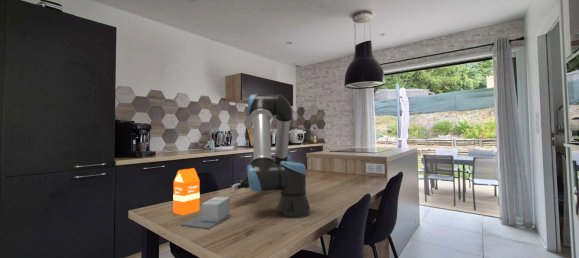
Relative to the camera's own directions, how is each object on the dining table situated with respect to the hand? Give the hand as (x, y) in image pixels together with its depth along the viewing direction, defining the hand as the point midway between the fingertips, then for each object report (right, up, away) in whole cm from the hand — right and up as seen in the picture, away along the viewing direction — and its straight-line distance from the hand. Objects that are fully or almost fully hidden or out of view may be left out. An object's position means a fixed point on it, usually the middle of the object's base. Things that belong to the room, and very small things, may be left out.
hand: (233, 188), depth 123 cm
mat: (-6, -9, -20) cm, 23 cm away
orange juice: (-21, -10, -6) cm, 24 cm away
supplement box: (-2, -5, -10) cm, 12 cm away
